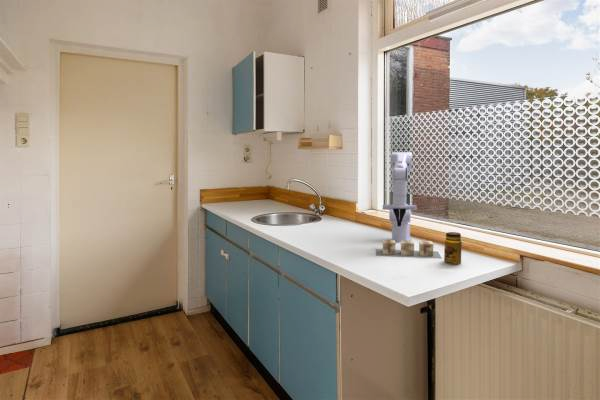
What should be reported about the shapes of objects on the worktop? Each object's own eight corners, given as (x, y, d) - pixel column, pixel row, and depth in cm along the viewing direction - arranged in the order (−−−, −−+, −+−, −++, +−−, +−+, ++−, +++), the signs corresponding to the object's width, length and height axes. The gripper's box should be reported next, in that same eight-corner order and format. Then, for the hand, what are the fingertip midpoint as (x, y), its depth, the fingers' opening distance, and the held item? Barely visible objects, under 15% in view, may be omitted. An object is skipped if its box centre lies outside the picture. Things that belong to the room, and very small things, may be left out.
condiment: (442, 265, 146) (443, 234, 145) (443, 259, 154) (444, 230, 153) (462, 267, 143) (464, 235, 142) (463, 261, 151) (464, 231, 150)
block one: (394, 251, 165) (394, 239, 164) (395, 254, 160) (395, 242, 159) (382, 251, 166) (382, 239, 165) (382, 254, 161) (383, 242, 160)
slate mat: (437, 252, 164) (437, 251, 164) (441, 259, 154) (442, 258, 153) (375, 250, 169) (375, 249, 169) (375, 257, 159) (375, 255, 159)
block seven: (431, 253, 162) (431, 241, 161) (433, 256, 157) (433, 244, 156) (419, 252, 163) (419, 240, 162) (420, 255, 158) (420, 243, 157)
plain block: (412, 252, 163) (413, 240, 163) (413, 255, 158) (414, 243, 158) (400, 251, 164) (400, 240, 164) (401, 254, 159) (401, 243, 159)
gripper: (382, 196, 166) (382, 227, 167) (417, 196, 163) (417, 228, 164) (382, 194, 173) (382, 224, 174) (416, 194, 170) (415, 225, 171)
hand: (399, 225), depth 170 cm, fingers closed
